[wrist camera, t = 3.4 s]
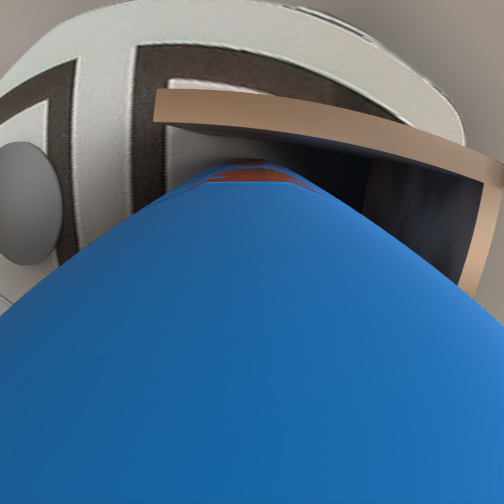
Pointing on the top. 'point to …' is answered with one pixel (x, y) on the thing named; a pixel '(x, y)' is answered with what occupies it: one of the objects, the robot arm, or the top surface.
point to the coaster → (28, 204)
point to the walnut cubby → (372, 169)
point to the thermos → (250, 361)
